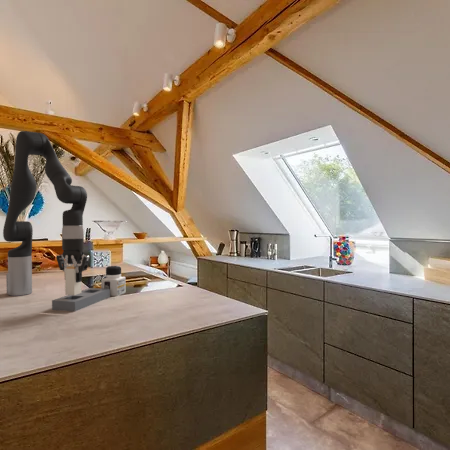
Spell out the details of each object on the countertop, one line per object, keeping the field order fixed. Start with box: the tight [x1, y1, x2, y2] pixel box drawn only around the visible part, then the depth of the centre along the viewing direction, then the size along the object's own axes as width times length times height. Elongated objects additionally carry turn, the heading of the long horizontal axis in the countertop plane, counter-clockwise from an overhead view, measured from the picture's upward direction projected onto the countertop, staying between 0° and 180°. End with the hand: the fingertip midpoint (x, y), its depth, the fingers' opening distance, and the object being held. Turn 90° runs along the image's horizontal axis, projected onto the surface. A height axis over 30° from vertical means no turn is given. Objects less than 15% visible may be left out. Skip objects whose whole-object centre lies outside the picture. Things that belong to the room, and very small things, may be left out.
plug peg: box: [64, 265, 82, 296], centre depth 124 cm, size 4×4×11 cm
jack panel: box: [51, 287, 111, 312], centre depth 129 cm, size 10×22×4 cm, turn 167°
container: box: [100, 265, 127, 297], centre depth 145 cm, size 8×8×13 cm
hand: (73, 281), depth 124 cm, fingers closed on plug peg, 4 cm apart
